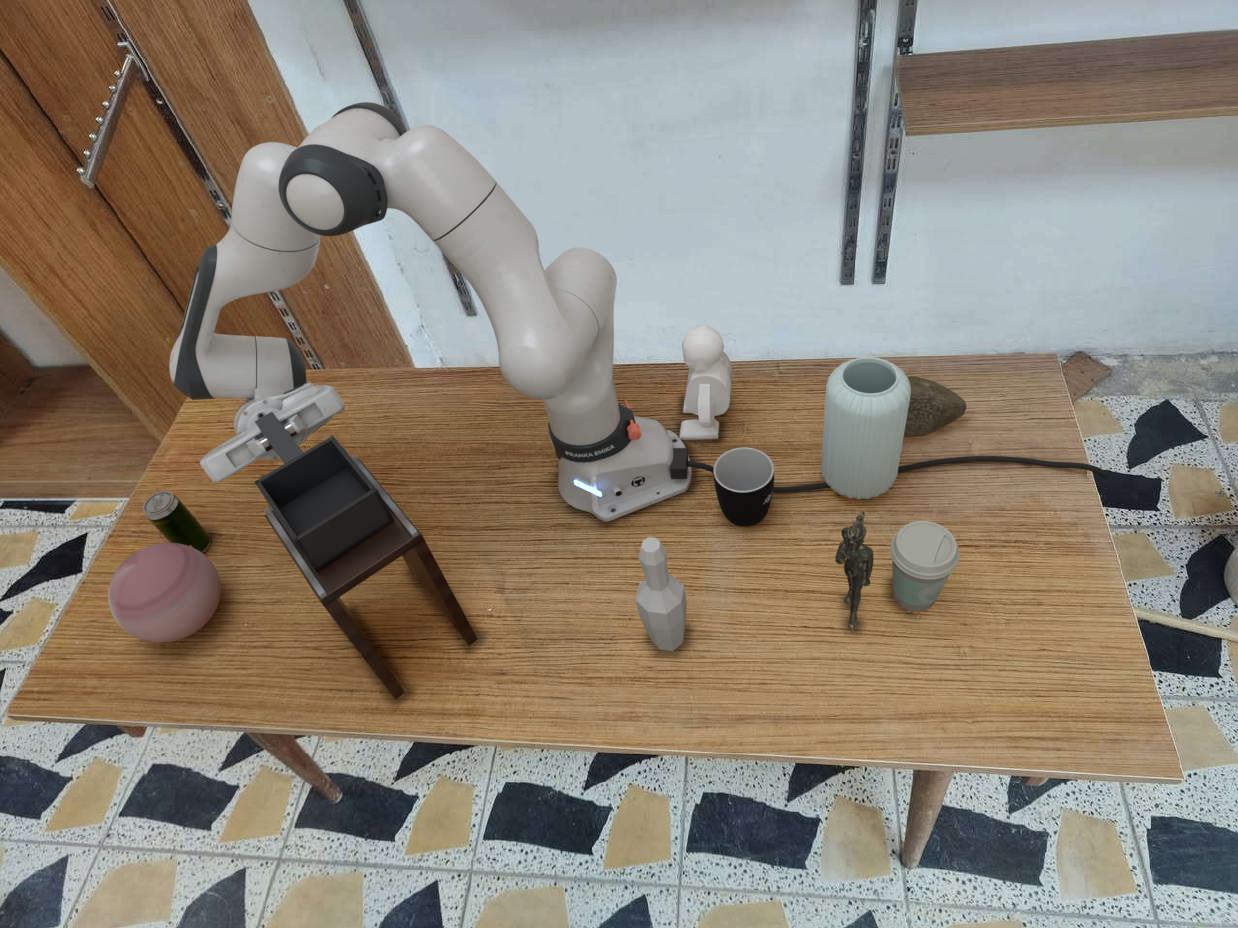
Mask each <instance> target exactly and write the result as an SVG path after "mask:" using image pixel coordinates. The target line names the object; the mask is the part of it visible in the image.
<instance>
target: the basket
mask: <svg viewBox="0 0 1238 928" xmlns="http://www.w3.org/2000/svg"><path fill="white" fill-rule="evenodd" d="M255 423H256V425H257V426H258V427H259V429H260V430H261V432H262V433H263V435H264V436H265V437H266V438H267V440H268V441H269V443H270V444H271V445H272V447H273V449H274V450H275V451H276V453H277V454H278V456H279V457H280V460H281V461H282V463H283V464H282V465H281V466H279V467H277V468H275V469H273V470H272V471H270V472H268V473H266V474H265V475H264V476H262V477H260V478H258V479H256V480H255V481H254V484H255V485H256V488H258V490H259V491H260V493H261V494H262V496H263V497H264V499H265V501H266V502H267V503H268V505H269V507H270V509H271V510H273V511H274V512H275V514H276V515H277V517H278V518H279V520H280V521H281V523H282V524H283V526H284V527H285V529H286V530H287V532H288V533H289V535H290V536H291V538H292V539H293V541H294V542H295V544H296V545H297V546H298V548H299V549H300V551H301V552H302V553H303V555H304V556H305V557H306V559H307V560H308V561H309V563H310V564H311V565H312V567H313V568H314V570H315V571H317V570H318V569H320V568H321V567H323V566H325V565H326V564H328V563H329V562H331V561H332V560H334V559H335V558H337V557H338V556H340V555H342V554H343V553H345V552H346V551H348V550H349V549H351V548H352V547H354V546H355V545H357V544H358V543H360V542H362V541H363V540H365V539H366V538H368V537H369V536H371V535H372V534H374V533H375V532H377V531H378V530H380V529H382V528H383V527H385V526H386V525H388V524H389V523H391V522H392V521H394V518H393V516H392V515H391V513H390V511H389V509H388V507H387V506H386V504H385V502H384V500H383V499H382V497H381V495H380V493H379V492H378V490H377V489H376V487H375V486H374V485H373V484H372V482H371V481H370V480H369V479H368V478H367V476H366V475H365V474H364V473H363V471H362V470H361V469H360V468H359V467H358V465H357V464H356V463H355V462H354V460H353V459H352V458H351V457H352V456H351V455H350V454H349V453H348V452H347V450H346V449H345V448H344V446H343V445H342V444H341V443H340V442H339V441H338V440H337V438H336V437H335V436H334V435H331V436H329V437H328V438H326V439H325V440H323V441H321V442H319V443H317V444H316V445H314V446H312V447H311V448H309V449H308V450H306V451H303V450H302V449H301V448H300V445H297V444H296V442H295V441H294V440H293V438H292V437H291V436H290V434H289V433H288V432H287V430H286V429H285V428H284V426H283V425H282V424H281V422H280V421H279V420H278V419H277V417H276V416H275V415H274V413H273V412H270V413H269V414H267V415H265V416H263V417H261V418H260V419H258V420H256V421H255Z"/></svg>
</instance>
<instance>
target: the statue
mask: <svg viewBox="0 0 1238 928" xmlns="http://www.w3.org/2000/svg"><path fill="white" fill-rule="evenodd" d="M865 514H866V512H865V511H864V510H860V512H859V514H858V515H856V517H855V522H854V523H853V524H852V525H850V526H845V527H844V528H842V529H841V536H842V539H843V541H840V542H839V544H838V546H837V550H836V553H835V563H836V564H838V565H843V572H844V575H845V576H846V578H847V579H846V580H847V583H848V584H847V585H848V591H847V594H846V595H845V597H844V598H843V602H844V604H845V605H847V606H850V610H849V620H848V625H847V626H848V627H847V628H848V629H849V630H850V631H854V630H856V629H857V627H858V622H857V620H858V619H857V614H858V609H859V605H860V603H861V598H862V589H863V587H864V588H866V587H869V586H870V585H871V575H872V572H873V567H874V550H873V549H872V547H870V546H868V545H866V544H864V543H865V540H864V538H865V537H866V535H867V527H866V526H865V524H864V521H865V516H866V515H865Z"/></svg>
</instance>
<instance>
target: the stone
mask: <svg viewBox="0 0 1238 928" xmlns="http://www.w3.org/2000/svg"><path fill="white" fill-rule="evenodd" d="M907 377H908V380H909V384H910V386H911V395H910V401H909V407H908V413H907V419H906V425H905V431H904V437H907V438H917V437H925V436H927V435H930V434H933V433H936V432H938V431H940V430H942V429H943V428H945V427H947V426H948V425H950V424H952V423H953V422H955V421H957V420H958V419H960V418H961V417H962V416H964V415H965V413H966V410H967V408H968V407H967V403H966V400H964V399H963V398H962V397H961V396H960V395H959V394H958V393H957V392H955V391H953V390H951V389H950V388H948V387H946V386H944V385H942V384H940V383H938V382H936V381H934V380H930V379H928V378H924V377H920V376H916V375H910V376H907Z"/></svg>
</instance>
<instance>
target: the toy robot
mask: <svg viewBox="0 0 1238 928" xmlns="http://www.w3.org/2000/svg"><path fill="white" fill-rule="evenodd" d="M724 349H725V345H724V340H723V337H722V335H721V333H720V332H719V331H718V330H717V329H715V327H713V326H711V325H709V324H697V325H696V326H693V327H692V328H690V329H689V330H688V331H687V332H686V333H685V334H684V336H683V338H682V341H681V350H682V358H683V362H684V364H685V366H687V367H688V374H687V382H686V389H685V396H684V400H683V408H682V414H693V415H695V416H698V418H696V419H686V420H683V421H681V423H680V429H679V435H678V437H679V438H680V439H681V441H696V440H697V441H700V440H719V433H720V432H719V431H720V421H719V420H717V419H716V418H715V417H717V416H722V415H723V414H725V413H726V412H727V411H728V409H729V408H730V402H731V391H732V378H733V366H732V362H731V359H730V358H729V356H728V354H727V353H726V352H725V351H724Z"/></svg>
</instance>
